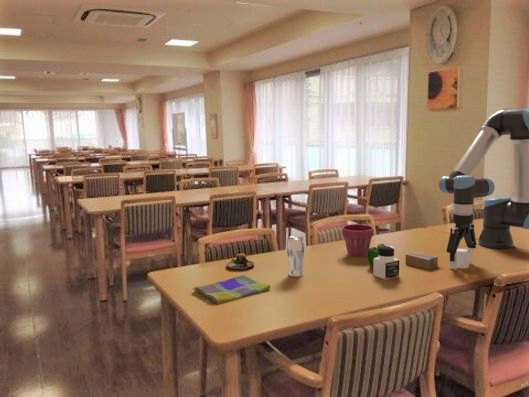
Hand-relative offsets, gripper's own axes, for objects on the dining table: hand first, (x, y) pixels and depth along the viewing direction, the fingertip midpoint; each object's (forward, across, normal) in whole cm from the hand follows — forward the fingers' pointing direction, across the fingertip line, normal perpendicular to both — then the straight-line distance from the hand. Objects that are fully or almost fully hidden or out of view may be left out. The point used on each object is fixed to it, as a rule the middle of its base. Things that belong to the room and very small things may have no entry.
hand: (461, 265), depth 188 cm
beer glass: (0, +58, -37) cm, 69 cm away
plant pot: (0, +17, -41) cm, 44 cm away
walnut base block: (0, +10, -12) cm, 16 cm away
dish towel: (+1, +88, -38) cm, 96 cm away
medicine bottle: (0, +33, -12) cm, 35 cm away
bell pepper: (0, +26, -22) cm, 34 cm away
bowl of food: (+1, +69, -61) cm, 92 cm away
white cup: (0, 0, 0) cm, 0 cm away
